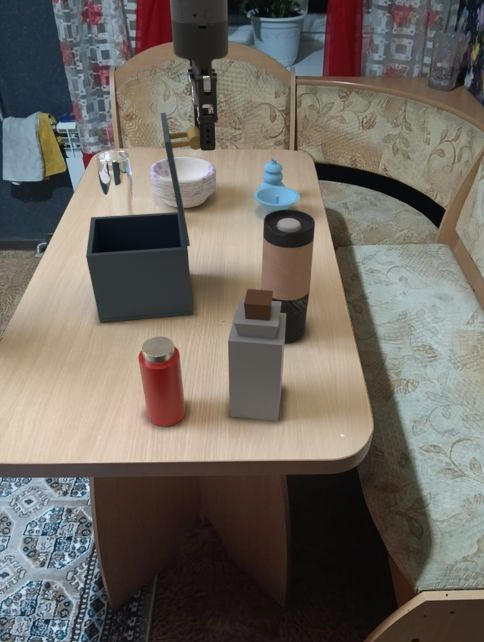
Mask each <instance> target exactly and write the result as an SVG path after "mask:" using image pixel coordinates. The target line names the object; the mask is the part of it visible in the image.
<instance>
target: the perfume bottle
mask: <svg viewBox="0 0 484 642" xmlns="http://www.w3.org/2000/svg"><path fill="white" fill-rule="evenodd" d="M272 296H273V291H267V290H261V289H254V288H252V289H251V288H247V289H246V293H245V296H244V297H245V298H239V301H238V305H237V308H236V309H235V311H234V314H233V319H232V322H231V326H230V331H229V335H228V338H227V355H228V356H227V357H228V358H227V360H228V361H227V362H228V396H229V397H228V398H229V399H228V400H229V401H228V403H229V417H231V418H239V419H240V418H241V419H251V420H261V421H274V422H275V421H276V422H278V421H279V418H280V417H279V416H280V409H281V398H282V391H283V389H282V388H283V377H284V376H283V374H284V359H285V344H286V343H285V327H286V313H280V310H281V303H282V302H279V301H272Z"/></svg>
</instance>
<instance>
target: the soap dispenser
mask: <svg viewBox="0 0 484 642" xmlns="http://www.w3.org/2000/svg"><path fill="white" fill-rule="evenodd" d="M263 171H264V172H263V173H262V179H263V181H262V182H261V184H259V186H258V189H257V190H255V191H254V193H253V198H254V199H255V200H256V202H258V203H259V204H260V205H261V206H262V207H263V208H264V209H265V210H266V211H267V212H268V214H269V213H271V212H274V211H278V210H289V209H290V208H291V207H292V206H293V205H295V204H296V203H297V202H298V201H299V200H300V198H301V195H300V193H299V192H298V191H297V190H295V189H293V188H290V187H287V186H286V185H285V184H284V182H282V181H283V179H284V175H283V166H282V164H281V163H280V162H277V159H276V158H270V159H269V162H267V163H265V164H264V166H263Z"/></svg>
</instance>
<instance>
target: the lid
mask: <svg viewBox="0 0 484 642" xmlns="http://www.w3.org/2000/svg"><path fill="white" fill-rule="evenodd" d="M160 119H161V127H162V134H163V142H164V147H165V148H164V149H165V152H166V157H167V158H168V163H169V168H170V173H171V178H172V183H173V188H174V193H175V198H176V203H177V207H176V208H177V212H178V213H179V218H180V223H181V229H182V234H183V239H184V244H185V247H186V246H187V247H190V246H191V242H190V236H189V232H188V226H187V220H186V213H185V208H184V207H183V202H182V196H181V191H180V186H179V181H178V175H177V170H176V165H175V160H174V157H175V155H174V150H173V149H178V148H186V147H190V149H192V150H196V151H197V150H201V148H200V136H199V129H198V128H197V127H196V126H195V125H190V126H188V127H187V128H186V130H185V131H184V130H183V131H177V132H172V133H171V132H170V128H169V124H168V118H167V112H161V113H160ZM184 138H187V139H186V140H178V141H172V140H177V139H184Z"/></svg>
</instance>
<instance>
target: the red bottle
mask: <svg viewBox="0 0 484 642" xmlns="http://www.w3.org/2000/svg"><path fill="white" fill-rule="evenodd" d="M137 358H138V365H139V371H140V377H141V385H142V390H143V395H144V402H145V409H146V415H147V419H148V421H149V422H150V423H151V424H153V425H155V426H157V427H164V428H165V427H171V426H174V425H176V424H178V423H180V422H181V421H182V420H183V419H184V417H185V415H186V404H185V395H184V394H185V393H184V386H183V385H184V383H183V375H182V365H181V364H182V363H181V353H180V351H179V349H178V348H177V346H175V344H174V341H173V340H172V339H170V338H169V337H165V336H153V337H150V338H148V339H146V340H145V341H144V342H143V343H142V345H141V350H140V352H139V354H138V357H137Z"/></svg>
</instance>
